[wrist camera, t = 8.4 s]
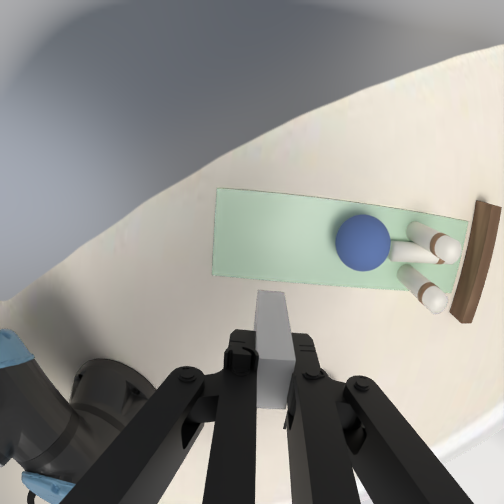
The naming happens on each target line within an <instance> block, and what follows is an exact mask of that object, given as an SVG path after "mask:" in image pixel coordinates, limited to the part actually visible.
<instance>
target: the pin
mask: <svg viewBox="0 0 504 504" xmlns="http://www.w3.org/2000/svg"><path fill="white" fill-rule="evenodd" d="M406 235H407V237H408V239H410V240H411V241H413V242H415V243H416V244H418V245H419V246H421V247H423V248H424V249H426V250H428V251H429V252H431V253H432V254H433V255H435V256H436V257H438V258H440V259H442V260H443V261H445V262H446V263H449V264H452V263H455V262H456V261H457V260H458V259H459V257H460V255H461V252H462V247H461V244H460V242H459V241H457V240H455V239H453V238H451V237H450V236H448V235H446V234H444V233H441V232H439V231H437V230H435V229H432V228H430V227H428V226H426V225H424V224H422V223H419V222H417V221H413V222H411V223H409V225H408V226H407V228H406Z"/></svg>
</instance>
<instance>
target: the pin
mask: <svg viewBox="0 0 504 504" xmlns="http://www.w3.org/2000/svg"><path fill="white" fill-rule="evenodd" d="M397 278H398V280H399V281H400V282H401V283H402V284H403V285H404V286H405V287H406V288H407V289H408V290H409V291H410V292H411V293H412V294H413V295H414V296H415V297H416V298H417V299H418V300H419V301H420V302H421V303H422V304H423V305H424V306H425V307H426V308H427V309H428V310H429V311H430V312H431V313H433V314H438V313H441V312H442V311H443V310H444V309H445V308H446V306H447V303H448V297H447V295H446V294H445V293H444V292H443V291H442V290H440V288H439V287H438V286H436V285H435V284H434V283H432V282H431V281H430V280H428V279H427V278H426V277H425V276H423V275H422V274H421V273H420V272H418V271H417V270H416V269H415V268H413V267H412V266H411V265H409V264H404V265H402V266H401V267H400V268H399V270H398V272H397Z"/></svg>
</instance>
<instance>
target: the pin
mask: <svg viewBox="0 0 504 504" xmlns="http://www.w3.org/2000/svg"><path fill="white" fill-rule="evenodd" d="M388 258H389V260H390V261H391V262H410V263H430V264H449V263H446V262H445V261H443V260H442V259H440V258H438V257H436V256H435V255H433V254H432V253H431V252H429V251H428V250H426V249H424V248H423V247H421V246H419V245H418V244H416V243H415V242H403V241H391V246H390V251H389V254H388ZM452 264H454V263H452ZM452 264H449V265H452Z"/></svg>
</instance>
